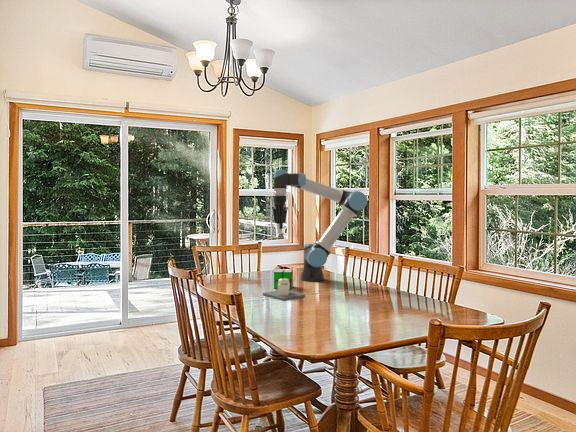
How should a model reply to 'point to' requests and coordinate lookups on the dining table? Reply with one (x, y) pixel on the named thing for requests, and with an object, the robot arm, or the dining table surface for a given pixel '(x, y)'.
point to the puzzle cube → (283, 277)
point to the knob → (283, 286)
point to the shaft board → (284, 297)
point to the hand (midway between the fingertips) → (279, 234)
